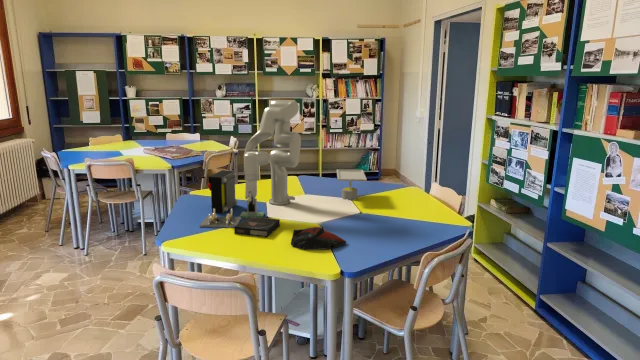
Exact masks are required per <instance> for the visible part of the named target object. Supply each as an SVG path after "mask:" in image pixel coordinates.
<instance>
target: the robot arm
mask: <svg viewBox="0 0 640 360" xmlns="http://www.w3.org/2000/svg"><path fill="white" fill-rule="evenodd" d="M299 105H300V104H299V102H297V101H296V100H288V99H274V100H272V101H270V103H269V106H267V107H265V109H264V110H263V113H262V116H261V119H260V123H259V127H258V130H257V132H256V133H255V134H253V136H251V138H250V139H249V140H248V141H247V143H246V146H245V148H244V152H243V176H244V177H243V179H244V181H245V200H248V211H249V212H254V211H255V204H254V199H256V198H257V195H258V181H259V180H260V175H259V174H260V173H259V171H260V170H259V166H260V167H261V166H262V167H263V166H266V165H268V164H269V165H270V178H271V179H270V184H271V190H270V191H271V195H270V197H271V198H270V199H268V203H269V204H270V205H275V206H279V205H280V206H283V205H289V204H290V203H291V201H295V200H296V196H294V195H289V193H288V172H287V171H288V170H287V169H286V168H296V167H297V166H298V164H299V161H300V154H301V147H302V146H301V145H302V137H301V135H300V133H298V132H296V131H291V120H292V119H293V118H294V117H296V115H297V114H298V112H299V110H300V109H299V108H300V106H299ZM273 136H274V137H273ZM271 138H274V139H273V144H274V146H276V147H278V148H284V149H273V150H272V151H270V153H269V152H267V151H264V150H263V151H262V150H255V148H257V146H258V145H260V144H261V143H262V142H264V141H267V140H269V139H271ZM285 148H286V149H285ZM287 149H288V150H287ZM252 200H253V201H252Z"/></svg>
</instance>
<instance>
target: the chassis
mask: <svg viewBox="0 0 640 360" xmlns="http://www.w3.org/2000/svg"><path fill="white" fill-rule="evenodd" d="M233 214H234V212H233V208H230V213H226V216H217V213H215V208H213V213H208V216H206V217H205V218H204V219H203V220H202V222H201V223H200V224H199V228H226V229H227V228H231V229H232V228H233V229H235V226H236V225H238V224H239V223H241V220H242V218H241V217H240V216H234V215H233Z"/></svg>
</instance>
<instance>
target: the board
mask: <svg viewBox="0 0 640 360" xmlns="http://www.w3.org/2000/svg"><path fill="white" fill-rule="evenodd" d="M246 201H247V202H246V205H247V206H246V208H247V209H246V211H241V213H240V215H239V217H241V219H246V218H248V217H249V216H251V217H260V218H264V216H265V211H258V202H257V198H255V199H254V204H255V211H254V212H249V211H248V199H246ZM252 201H253V200H252Z"/></svg>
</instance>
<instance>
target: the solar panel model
mask: <svg viewBox="0 0 640 360" xmlns="http://www.w3.org/2000/svg"><path fill="white" fill-rule="evenodd" d="M336 177H337V181H338V182H339V181H341V182H342V181H343V182H344V181H345V182H348V186H345V187H342V188H341V199H343V200H346V199H348V200H347V201H353V200H357V199H358V189H357V188H356V187H352V182H367V181H368V180H367V177H366V174H365V171H364V170H363V169H336Z"/></svg>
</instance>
